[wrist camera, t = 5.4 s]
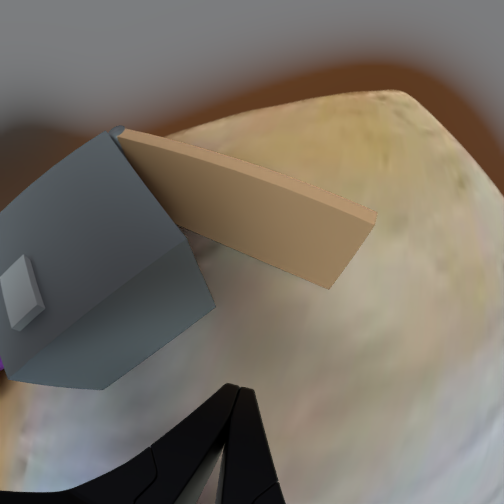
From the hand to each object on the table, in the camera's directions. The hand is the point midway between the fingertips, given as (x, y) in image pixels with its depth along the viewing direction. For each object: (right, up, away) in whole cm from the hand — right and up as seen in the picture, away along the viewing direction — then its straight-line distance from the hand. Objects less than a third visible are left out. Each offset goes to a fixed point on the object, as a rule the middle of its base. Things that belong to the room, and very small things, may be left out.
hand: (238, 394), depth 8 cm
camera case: (-10, +1, +13) cm, 16 cm away
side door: (-1, +5, +14) cm, 15 cm away
